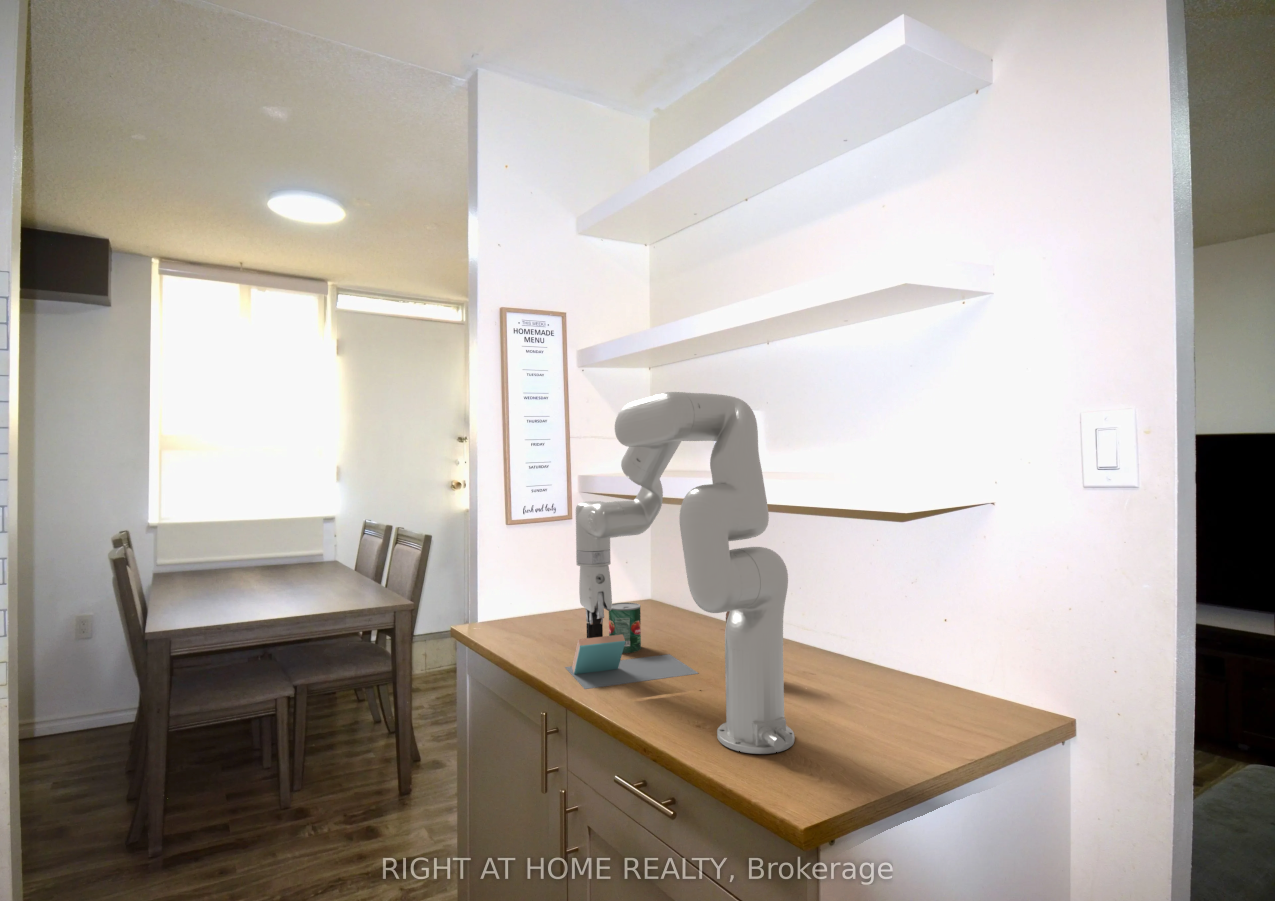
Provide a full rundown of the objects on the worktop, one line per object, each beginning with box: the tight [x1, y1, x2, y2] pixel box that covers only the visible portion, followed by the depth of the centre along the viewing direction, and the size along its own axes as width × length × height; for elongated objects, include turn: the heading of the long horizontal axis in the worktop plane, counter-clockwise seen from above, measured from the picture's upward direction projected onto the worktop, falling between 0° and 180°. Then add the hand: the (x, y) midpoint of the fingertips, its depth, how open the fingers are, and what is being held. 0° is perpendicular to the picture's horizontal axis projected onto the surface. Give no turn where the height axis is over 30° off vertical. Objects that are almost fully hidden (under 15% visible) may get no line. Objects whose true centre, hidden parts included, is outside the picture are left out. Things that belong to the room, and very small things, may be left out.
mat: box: [564, 653, 700, 690], centre depth 150 cm, size 16×26×1 cm, turn 111°
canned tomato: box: [608, 602, 642, 654], centre depth 168 cm, size 8×8×11 cm
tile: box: [571, 634, 625, 674], centre depth 148 cm, size 2×10×9 cm
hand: (594, 641), depth 150 cm, fingers closed
